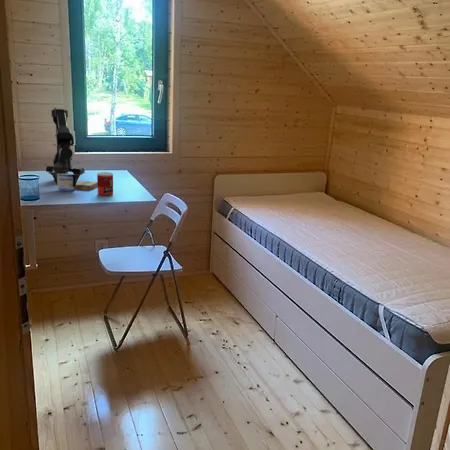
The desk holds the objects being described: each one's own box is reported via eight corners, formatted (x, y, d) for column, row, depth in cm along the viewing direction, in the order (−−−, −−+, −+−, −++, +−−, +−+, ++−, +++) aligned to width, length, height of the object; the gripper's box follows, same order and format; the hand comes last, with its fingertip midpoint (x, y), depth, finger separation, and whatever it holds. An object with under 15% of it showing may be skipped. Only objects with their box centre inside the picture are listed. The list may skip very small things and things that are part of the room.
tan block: (72, 189, 253) (72, 184, 252) (80, 185, 262) (80, 180, 262) (90, 191, 252) (90, 185, 251) (98, 187, 261) (97, 182, 260)
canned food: (105, 197, 239) (105, 175, 236) (94, 194, 243) (93, 173, 240) (116, 194, 245) (116, 173, 242) (105, 192, 249) (105, 171, 246)
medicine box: (58, 191, 245) (58, 175, 242) (57, 189, 248) (56, 173, 246) (74, 190, 248) (74, 174, 246) (73, 189, 252) (72, 172, 250)
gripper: (39, 156, 237) (40, 187, 241) (74, 159, 234) (75, 190, 239) (50, 153, 247) (52, 183, 252) (84, 156, 245) (85, 186, 249)
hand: (65, 186), depth 248 cm, fingers closed on medicine box, 9 cm apart
